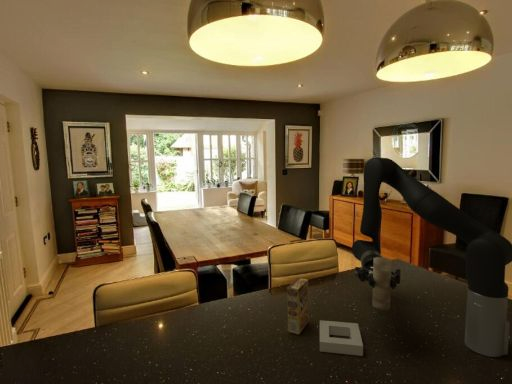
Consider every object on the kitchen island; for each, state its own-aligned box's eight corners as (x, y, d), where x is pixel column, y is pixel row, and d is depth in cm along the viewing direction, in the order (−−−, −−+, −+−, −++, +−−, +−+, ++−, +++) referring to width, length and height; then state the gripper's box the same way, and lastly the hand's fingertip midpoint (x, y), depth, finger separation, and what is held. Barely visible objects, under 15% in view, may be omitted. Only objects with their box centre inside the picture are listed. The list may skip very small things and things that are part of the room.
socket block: (357, 332, 98) (357, 323, 98) (362, 355, 86) (363, 346, 86) (319, 328, 100) (319, 320, 100) (319, 351, 89) (319, 341, 88)
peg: (387, 302, 92) (389, 257, 90) (391, 310, 87) (393, 263, 85) (371, 301, 93) (372, 256, 91) (373, 308, 88) (375, 262, 86)
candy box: (299, 335, 97) (299, 289, 95) (287, 332, 99) (286, 286, 97) (308, 322, 105) (308, 279, 103) (297, 319, 107) (297, 277, 105)
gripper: (351, 252, 104) (357, 270, 87) (396, 254, 101) (411, 273, 84) (351, 273, 105) (357, 295, 88) (395, 276, 102) (410, 299, 85)
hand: (383, 284), depth 87 cm, fingers closed on peg, 4 cm apart
